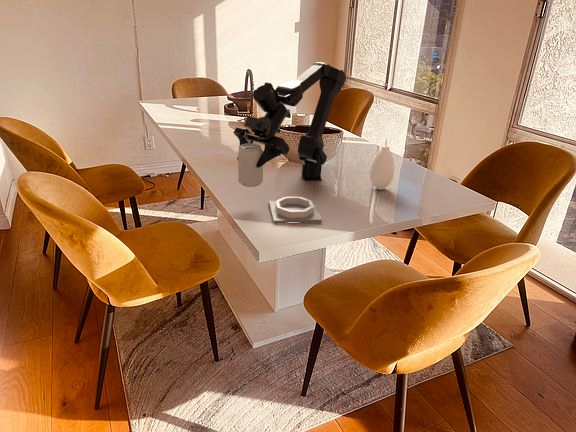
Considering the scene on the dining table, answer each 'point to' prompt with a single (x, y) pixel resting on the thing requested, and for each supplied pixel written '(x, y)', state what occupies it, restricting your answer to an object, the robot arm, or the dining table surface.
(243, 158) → the can
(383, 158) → the sauce bottle
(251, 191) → the dining table surface
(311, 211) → the housing
